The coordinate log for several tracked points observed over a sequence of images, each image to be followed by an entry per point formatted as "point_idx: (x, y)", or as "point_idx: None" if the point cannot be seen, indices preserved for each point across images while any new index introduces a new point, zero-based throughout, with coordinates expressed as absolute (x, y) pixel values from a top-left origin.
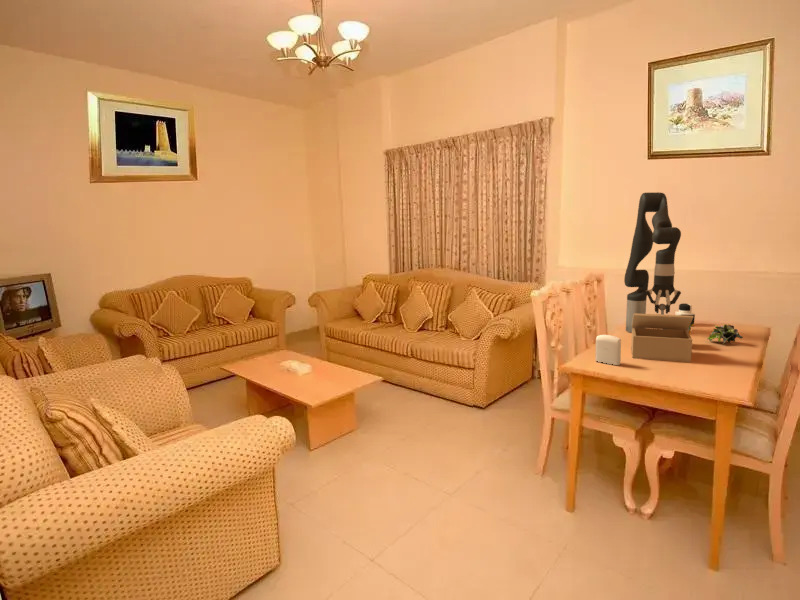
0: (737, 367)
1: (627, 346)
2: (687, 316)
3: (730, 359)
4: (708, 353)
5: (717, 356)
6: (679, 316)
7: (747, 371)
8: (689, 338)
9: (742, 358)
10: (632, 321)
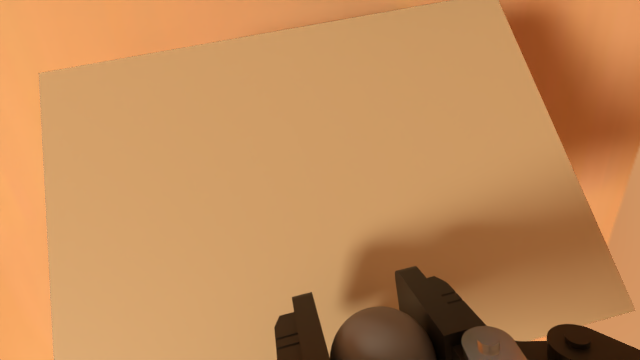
0: (583, 191)
1: (87, 44)
2: (581, 323)
3: (585, 78)
4: (513, 6)
5: (543, 49)
6: (514, 340)
7: (602, 225)
8: None
9: (635, 35)
10: (49, 208)
